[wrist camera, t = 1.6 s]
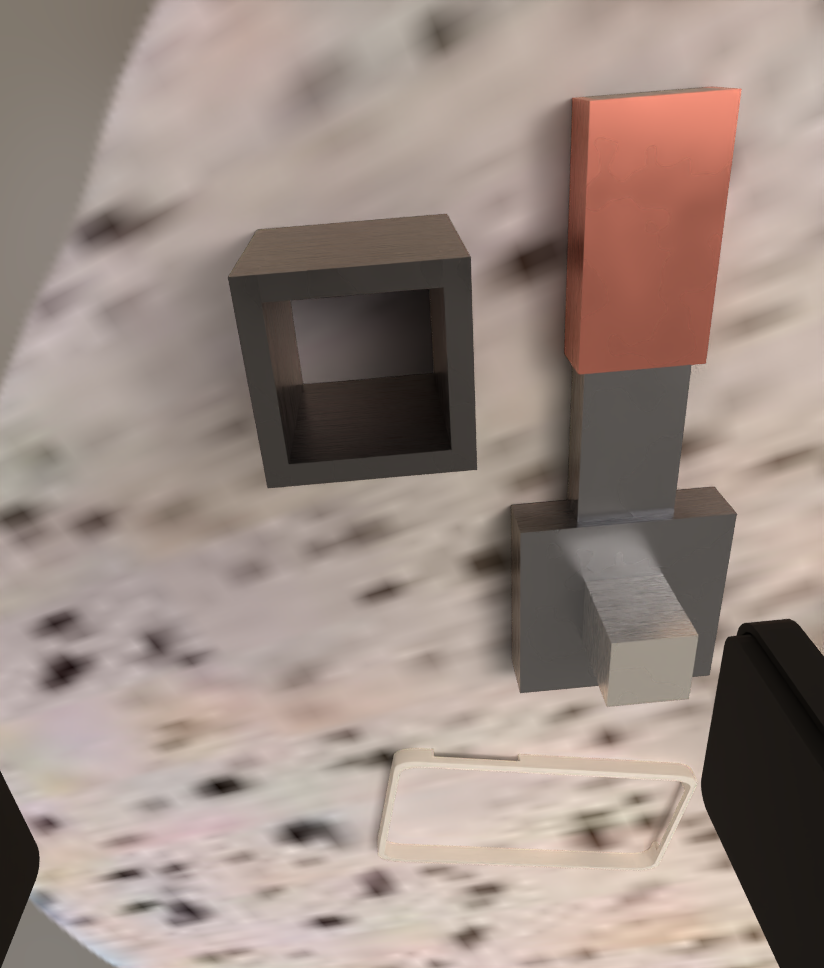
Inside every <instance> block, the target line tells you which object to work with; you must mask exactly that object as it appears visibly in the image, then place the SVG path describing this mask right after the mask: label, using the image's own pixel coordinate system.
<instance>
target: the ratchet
mask: <svg viewBox="0 0 824 968" xmlns="http://www.w3.org/2000/svg"><path fill="white" fill-rule="evenodd" d="M740 96H741V89H738V88H724V87H701V88H688V89H676V90H664V91H651V92H639V93H626V94H614V95H602V96H589V97H577V98H572V129H571V160H570V191H569V223H568V254H567V285H566V316H565V347H564V354H565V356H566V357H567V358H568V360H569V361H570V363H571V364H572V387H571V414H570V440H569V467H568V493H567V500H562V501H551V502H540V503H529V504H518V505H511V590H512V663H513V667H514V671H515V675H516V679H517V683H518V687H519V691H520V693H527V692H537V691H548V690H559V689H569V688H580V687H591V686H599V688H600V691H601V693H602V696H603V699H604V701H605V704H606V706H607V707H610V706H621V705H631V704H642V703H652V702H663V701H674V700H684V699H689V694H690V688H691V681H692V677H697V676H708V675H710V670H711V664H712V658H713V652H714V646H715V640H716V634H717V628H718V622H719V616H720V610H721V604H722V598H723V593H724V587H725V581H726V575H727V569H728V563H729V557H730V551H731V545H732V539H733V533H734V527H735V521H736V516H737V513H736V512H735V511H734V510H733V508H732V507H731V506H730V505H729V504H728V502H727V501H726V500H725V499H724V498H723V496H722V495H721V494H720V493H719V492H718V490H717V489H716V488H715V487H707V488H696V489H685V490H676V489H677V481H678V473H679V464H680V456H681V448H682V439H683V431H684V423H685V414H686V406H687V398H688V389H689V381H690V373H691V365H694V364H706V358H707V350H708V342H709V334H710V327H711V319H712V311H713V304H714V296H715V288H716V281H717V273H718V265H719V257H720V250H721V242H722V234H723V227H724V219H725V211H726V204H727V196H728V188H729V180H730V173H731V165H732V157H733V150H734V142H735V134H736V127H737V119H738V111H739V103H740Z"/></svg>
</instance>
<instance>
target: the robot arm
mask: <svg viewBox="0 0 824 968" xmlns="http://www.w3.org/2000/svg"><path fill="white" fill-rule="evenodd" d="M701 791H702V796H703V801H704V804H705V807H706V810H707V812H708V815H709V817H710V819H711V821H712V823H713V825H714V827H715V830H716V832H717V834H718V836H719V838H720V840H721V843H722V845H723V847H724V849H725V851H726V853H727V855H728V858H729V860H730V862H731V864H732V866H733V868H734V870H735V873H736V875H737V877H738V879H739V881H740V883H741V885H742V888H743V890H744V892H745V894H746V896H747V898H748V901H749V903H750V905H751V907H752V909H753V911H754V913H755V916H756V918H757V920H758V922H759V924H760V926H761V928H762V931H763V933H764V935H765V937H766V939H767V941H768V944H769V946H770V948H771V950H772V952H773V954H774V956H775V959H776V961H777V963H778V965H779V967H780V968H824V656H823V655H822V654H821V652H820V651H819V650H818V649H817V647H816V646H815V645H814V643H813V642H812V641H811V640H810V638H809V637H808V636H807V635H806V633H805V632H804V631H803V629H802V628H801V627H800V626H799V625H798V624H797V623H796V622H795V621H793V620H791V619H782V620H772V621H761V622H751V623H744V624H742V625H741V626H740V627H739V629H738V632H737V636H731V637H728V638H727V639H726V641H725V645H724V650H723V656H722V662H721V668H720V673H719V679H718V685H717V691H716V697H715V703H714V708H713V714H712V720H711V726H710V732H709V737H708V743H707V749H706V755H705V761H704V767H703V772H702V778H701ZM39 859H40V857H39V850H38V847H37V844H36V842H35V840H34V838H33V836H32V834H31V832H30V830H29V828H28V826H27V824H26V822H25V820H24V818H23V816H22V814H21V812H20V810H19V808H18V806H17V804H16V802H15V800H14V798H13V796H12V794H11V792H10V790H9V788H8V786H7V784H6V781H5V779H4V777H3V775H2V773H1V771H0V968H1V966H2V964H3V961H4V959H5V956H6V954H7V951H8V949H9V946H10V944H11V941H12V939H13V936H14V934H15V931H16V929H17V926H18V924H19V921H20V919H21V916H22V913H23V911H24V909H25V906H26V903H27V901H28V898H29V896H30V893H31V891H32V888H33V886H34V883H35V881H36V878H37V875H38V870H39Z"/></svg>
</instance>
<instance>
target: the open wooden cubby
mask: <svg viewBox="0 0 824 968" xmlns="http://www.w3.org/2000/svg"><path fill="white" fill-rule="evenodd" d="M228 280H229V285H230V291H231V296H232V301H233V307H234V312H235V317H236V322H237V328H238V333H239V338H240V344H241V349H242V354H243V360H244V365H245V370H246V375H247V381H248V386H249V391H250V397H251V402H252V407H253V413H254V418H255V423H256V428H257V434H258V439H259V444H260V450H261V455H262V460H263V466H264V471H265V476H266V482H267V487H268V488H276V487H287V486H299V485H310V484H321V483H332V482H344V481H355V480H366V479H377V478H389V477H400V476H411V475H422V474H434V473H445V472H456V471H467V470H477V451H476V418H475V385H474V352H473V319H472V285H471V257H470V255H469V253H468V251H467V249H466V248H465V246H464V244H463V242H462V240H461V239H460V237H459V235H458V233H457V231H456V230H455V228H454V226H453V224H452V222H451V221H450V219H449V217H448V215H447V214H439V215H427V216H415V217H403V218H391V219H379V220H367V221H355V222H343V223H331V224H319V225H306V226H294V227H282V228H270V229H258V230H257V231H256V233H255V234H254V236H253V237H252V239H251V241H250V242H249V244H248V246H247V247H246V249H245V250H244V252H243V254H242V255H241V257H240V258H239V260H238V262H237V263H236V265H235V267H234V268H233V270H232V271H231V273H230V275H229V276H228ZM419 289H429V297H430V314H431V331H432V349H433V366H434V373H430V374H419V375H407V376H395V377H384V378H372V379H361V380H349V381H338V382H326V383H315V384H303V381H302V374H301V367H300V361H299V354H298V347H297V341H296V334H295V327H294V321H293V314H292V307H291V301H290V300H301V299H312V298H324V297H336V296H348V295H360V294H371V293H383V292H395V291H407V290H419Z"/></svg>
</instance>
